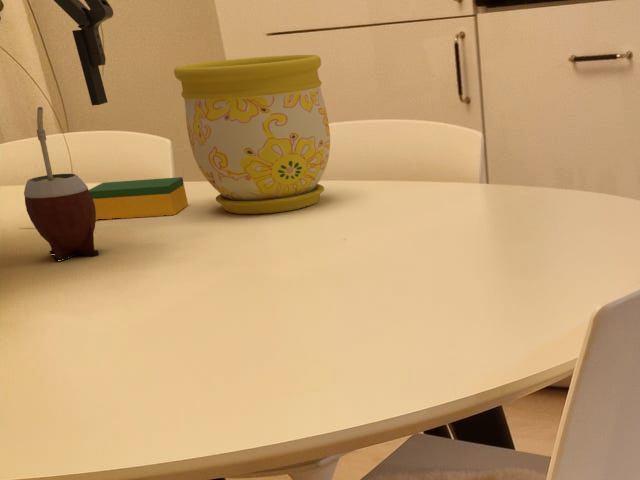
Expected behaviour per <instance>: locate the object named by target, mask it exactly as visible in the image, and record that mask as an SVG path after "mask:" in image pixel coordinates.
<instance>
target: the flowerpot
mask: <svg viewBox="0 0 640 480" xmlns="http://www.w3.org/2000/svg"><path fill="white" fill-rule="evenodd" d="M321 65H322V59H321V57H320V56H319V55H318V54H317V55H316V54H290V55H289V54H287V55H286V54H285V55H271V56H258V57H257V56H255V57H245V58H234V59H224V60H223V59H222V60H214V61H213V60H212V61H206V62H197V63H190V64H184V65H178V66H176V67H174V69H173V75H174V77H175V78H176V79H177V80H178V81H180V83H181V88H182V92H181V94H180V95H181V97H182V98H183V101H184V109H185V121H186V128H187V135H188V141H189V145H190V148H191V151H192V154H193V158H194V161H195V163H196V165H197V166H198V168H199V170H200V172H201V174H202V175H203V177H204V178H205V179H206V181H207V182H208V183H209V185H211V186H212V188H214V189H215V190H216V191H217V192H218V193H219V194H218V195H217V196H216V197H215V201H216V203H219V204H221V205H222V207H223V209H224V210H225V211H226V212H228V213H232V214H238V215H260V214H261V215H263V214H273V213H282V212H289V211H294V210H299V209H303V208H307V207H310V206H312V205H314V204H316V203H318V201H319V200H320V196H321V193H323V192H324V191H325V186H324V185H322V184H320V183H319V182H320V181H321V179H322V178H323V175H324V174H325V172H326V168H327V165H328V163H329V159H330V151H331V132H330V124H329V117H328V113H327V109H326V105H325V101H324V97H323V93H322V89H321V86H322V80H320V78H319V72H318V70H319V68H321ZM306 206H307V207H306Z"/></svg>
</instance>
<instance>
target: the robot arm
mask: <svg viewBox="0 0 640 480" xmlns="http://www.w3.org/2000/svg"><path fill="white" fill-rule="evenodd" d="M53 1H54V3H56V5H58V7H59V8H61V10H62V11H64V12H65V13H66V15H68V17H70V18H71V19H72V20H73V21H74V22H75V23H76V24H77V28H79V29H74V30H72V31H71V32H72V35H73V40H74V43H75V46H76V50H77V54H78V58H79V62H80V65H81V69H82V73H83V77H84V81H85V85H86V88H87V91H88V92H87V93H88V95H89V96H88V97H89V100H90V104H91V106H101V105H104V104H107V103H109V102H108V101H109V100H108V98H107V94H106V90H105V86H104V82H103V78H102V74H101V70H100V66H101V67H102V66H105V65H106V60H107V58H106V55H105V52H104V51H105V50H104V46H103V43H102V39H101V35H100V31H99V29H100V26H101V24H102V23H104V22H105V21H108V20H110V19H111V18H113V16H114V10H113V8H112V6H111V4H110V3H109V1H108V0H83V1H84V3H85V4H86V5H85V4H84V3H83V2H82V1H81V0H53ZM87 6H88V7H87Z"/></svg>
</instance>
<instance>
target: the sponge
mask: <svg viewBox="0 0 640 480" xmlns="http://www.w3.org/2000/svg"><path fill="white" fill-rule="evenodd" d="M88 190H89V192H90V194H91V196H92V199H93V201H94V204H95V210H96V221H99V220H98V219H107V220H115V219H114V218H121V219H135V218H149V217H150V218H151V217H162V216H163V217H164V215H166V216H175V215H176V214H178V213H179V212H181V211H182V210H183V209H185V208H187V207H188V205H189V201H188V197H187V192H186V188H185V183H184V178H183V177H182V176H179V177H165V178H152V179H151V178H149V179H136V180H123V181H121V180H120V181H107V182H106V181H105V182H101V183H100V184H98V185H95V186H94V187H92V188H90V189H88ZM112 218H113V219H112Z"/></svg>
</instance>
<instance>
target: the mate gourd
mask: <svg viewBox="0 0 640 480" xmlns="http://www.w3.org/2000/svg"><path fill="white" fill-rule="evenodd" d="M36 112H37V113H36V125H37V127H36V135H37V139H38V141H39V143H40V148H41V153H42V157H43V158H42V159H43V162H44V167H45V171H46V175H40V176H36V177H32V178H30V179H28V180H27V181H26V183H25V186H24V191H23V195H24V204H25V209H26V212H27V215H28V217H29V219H30V221H31V223H32V224H33V226H34V228H35V230H36V232H38V233H39V235H40V236H41V237H42V239H44V240H45V241H46V242H47V243H48V245H49V246H50V248H51V250H49V251H48V252H49V255H51V254H55V255H56V256H53V257H52V259H53V261H54V260H55V261H58V260H62V259H66V258H68V257H71V256H74V255H86V256H85V257H97V256H99V250H98V249H95V240H94V239H95V235H94V233H95V229H96V223H97V220H96V210H95V204H94V201H93V199H92V196H91V194H90V192H89V190H90V189H89V187H88V185H87V184H86V183H85V182H84V181H83V180H82V179H81V178H80V177H79V175H77V174H76V173H56V174H55V173H54V174H53V171H52V165H51V161H50V155H49V150H48V145H47V134H46V130H45V129H44V121H43V119H44V118H43V117H44V108H43V106H38V107H37V110H36ZM96 255H97V256H96ZM74 257H75V256H74ZM71 258H72V257H71ZM68 259H69V258H68ZM66 260H67V259H66ZM55 261H54V262H55Z"/></svg>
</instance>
